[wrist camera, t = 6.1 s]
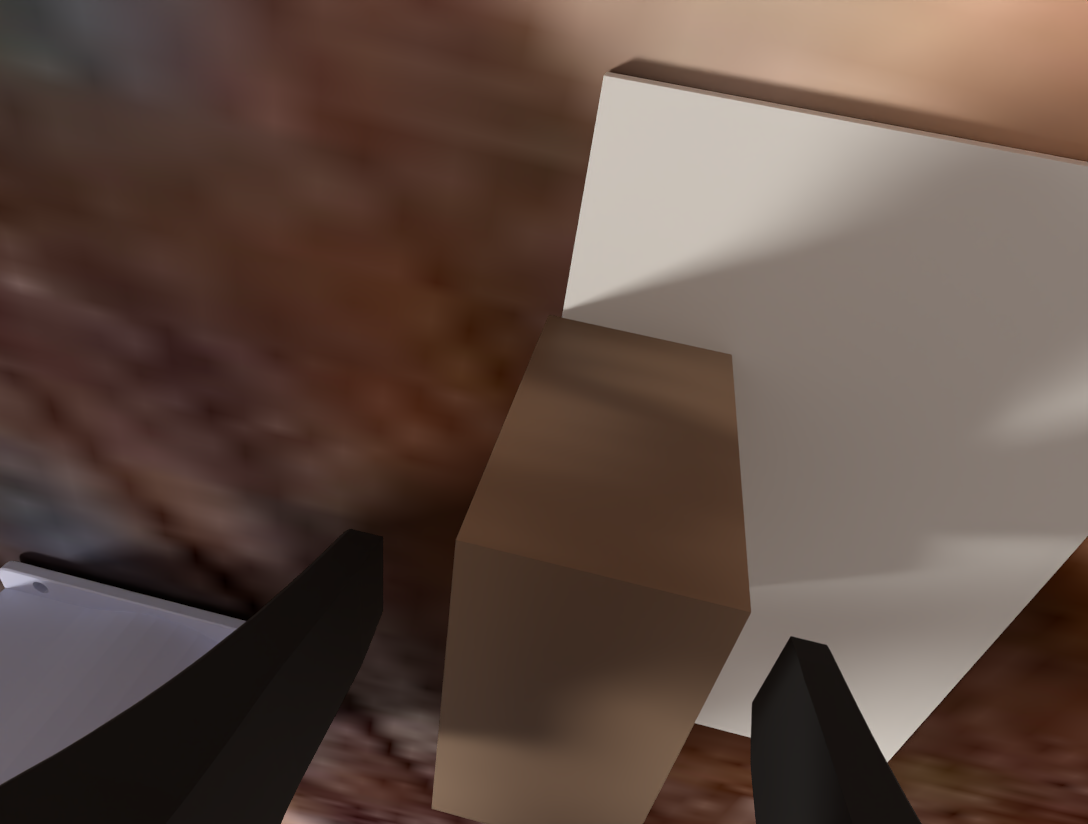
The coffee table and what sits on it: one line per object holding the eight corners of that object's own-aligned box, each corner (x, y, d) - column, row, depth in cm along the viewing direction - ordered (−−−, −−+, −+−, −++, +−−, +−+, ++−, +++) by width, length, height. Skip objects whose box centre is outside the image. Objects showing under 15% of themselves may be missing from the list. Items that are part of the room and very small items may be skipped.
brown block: (508, 560, 17) (431, 808, 12) (548, 314, 13) (456, 539, 8) (646, 595, 17) (623, 861, 12) (732, 355, 12) (750, 611, 8)
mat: (503, 661, 20) (500, 672, 20) (606, 71, 11) (603, 75, 10) (876, 757, 19) (879, 771, 19) (1345, 210, 10) (1368, 218, 9)
